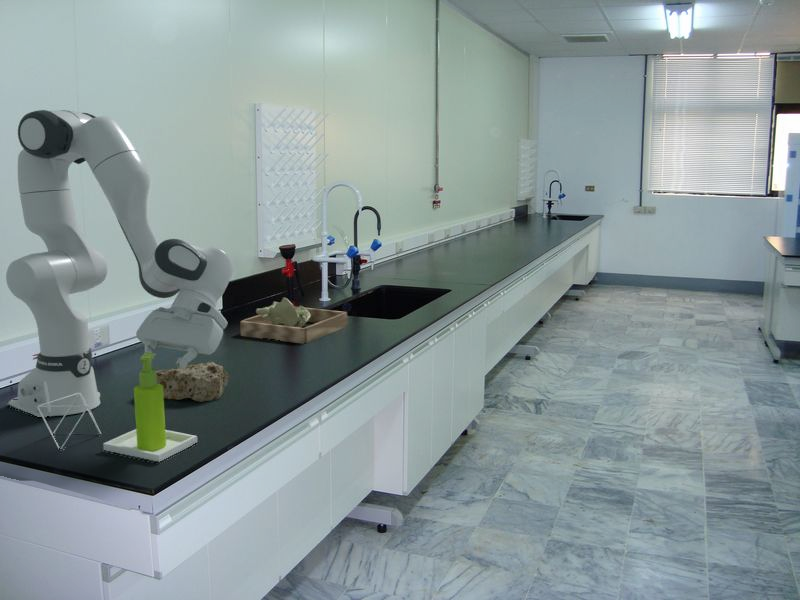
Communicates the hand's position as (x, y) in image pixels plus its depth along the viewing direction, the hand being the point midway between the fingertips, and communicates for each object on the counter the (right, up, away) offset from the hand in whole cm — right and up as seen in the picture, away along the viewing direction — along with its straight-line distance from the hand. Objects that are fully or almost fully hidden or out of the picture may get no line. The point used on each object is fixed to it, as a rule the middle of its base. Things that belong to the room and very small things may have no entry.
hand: (162, 364), depth 166 cm
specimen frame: (+14, +3, +107) cm, 108 cm away
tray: (-2, -18, -1) cm, 18 cm away
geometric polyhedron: (-21, -17, +3) cm, 27 cm away
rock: (-4, -11, +36) cm, 38 cm away
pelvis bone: (+11, +3, +109) cm, 110 cm away
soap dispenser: (-2, -17, -2) cm, 18 cm away
